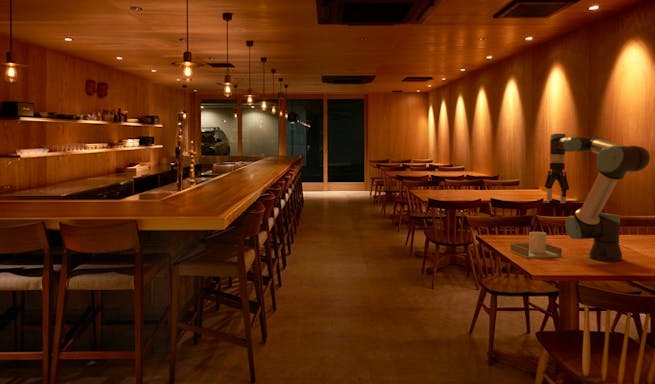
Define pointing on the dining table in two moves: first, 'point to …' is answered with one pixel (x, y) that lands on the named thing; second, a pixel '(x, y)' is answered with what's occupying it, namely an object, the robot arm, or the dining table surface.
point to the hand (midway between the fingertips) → (556, 201)
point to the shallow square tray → (523, 251)
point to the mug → (537, 242)
